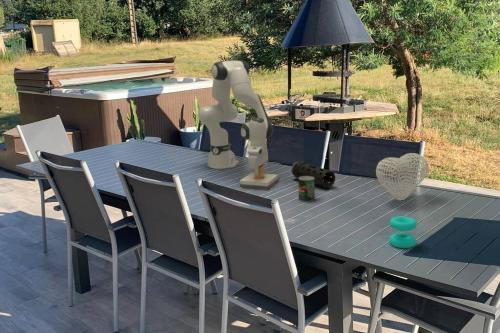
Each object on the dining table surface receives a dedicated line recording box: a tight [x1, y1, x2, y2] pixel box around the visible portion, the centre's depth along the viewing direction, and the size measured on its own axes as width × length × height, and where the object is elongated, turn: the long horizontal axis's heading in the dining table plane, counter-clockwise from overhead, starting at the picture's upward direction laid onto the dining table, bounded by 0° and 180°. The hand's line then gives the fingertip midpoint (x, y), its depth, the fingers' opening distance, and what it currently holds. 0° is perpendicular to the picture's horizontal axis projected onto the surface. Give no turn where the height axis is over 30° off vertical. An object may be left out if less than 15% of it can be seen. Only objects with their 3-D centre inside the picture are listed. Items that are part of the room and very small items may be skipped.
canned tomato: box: [297, 176, 316, 203], centre depth 258 cm, size 8×8×11 cm
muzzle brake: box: [290, 161, 336, 190], centre depth 285 cm, size 10×28×10 cm, turn 32°
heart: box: [375, 152, 430, 202], centre depth 250 cm, size 28×16×22 cm, turn 122°
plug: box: [253, 165, 265, 179], centre depth 285 cm, size 4×4×10 cm
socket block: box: [239, 172, 279, 191], centre depth 287 cm, size 17×16×4 cm
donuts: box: [388, 215, 418, 249], centre depth 199 cm, size 10×10×10 cm
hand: (259, 172), depth 286 cm, fingers closed on plug, 4 cm apart
